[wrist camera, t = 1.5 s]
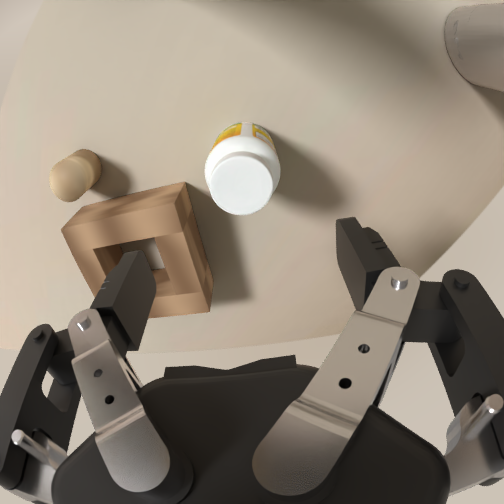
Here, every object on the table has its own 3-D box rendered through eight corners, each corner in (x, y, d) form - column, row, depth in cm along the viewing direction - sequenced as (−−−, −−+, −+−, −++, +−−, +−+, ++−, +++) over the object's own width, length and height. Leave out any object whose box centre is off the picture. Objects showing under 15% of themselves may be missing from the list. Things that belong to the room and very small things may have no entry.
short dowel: (94, 144, 26) (75, 155, 23) (106, 180, 28) (89, 196, 25) (64, 155, 26) (44, 168, 23) (76, 190, 28) (58, 206, 25)
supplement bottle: (277, 125, 26) (292, 151, 18) (269, 180, 29) (278, 229, 21) (216, 118, 25) (201, 141, 17) (211, 174, 28) (196, 221, 20)
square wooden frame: (185, 181, 28) (174, 203, 24) (213, 281, 35) (209, 311, 31) (82, 206, 29) (60, 229, 25) (121, 293, 36) (109, 321, 32)
